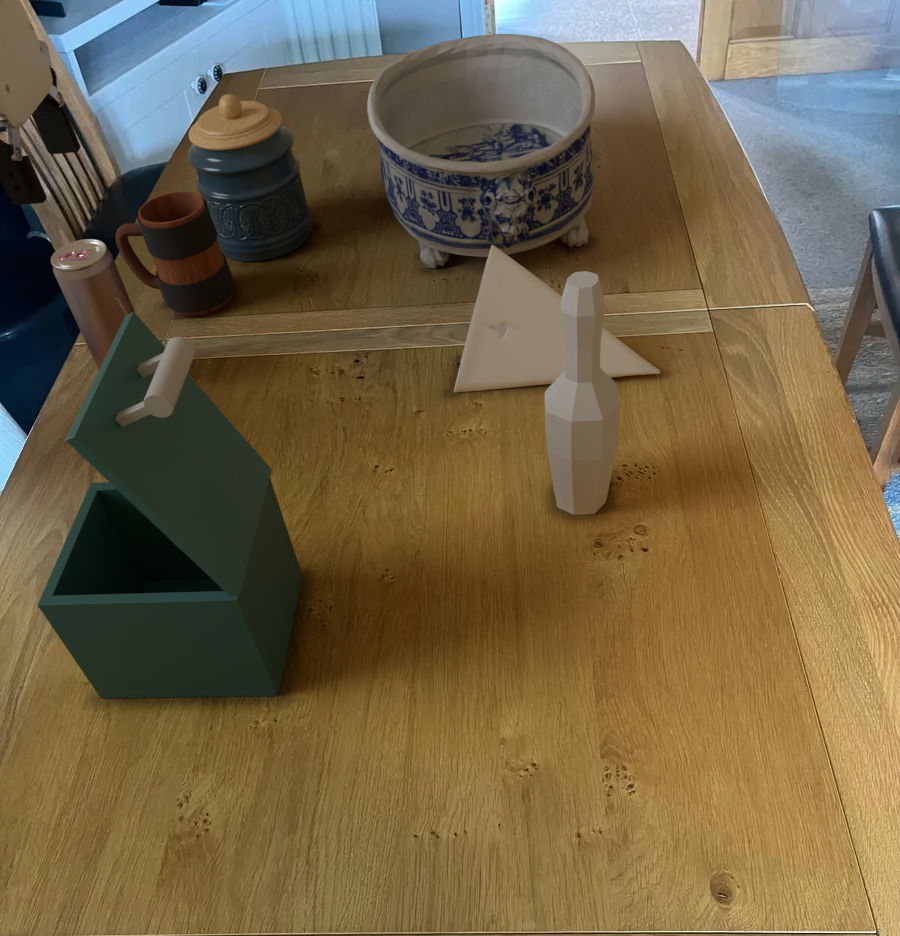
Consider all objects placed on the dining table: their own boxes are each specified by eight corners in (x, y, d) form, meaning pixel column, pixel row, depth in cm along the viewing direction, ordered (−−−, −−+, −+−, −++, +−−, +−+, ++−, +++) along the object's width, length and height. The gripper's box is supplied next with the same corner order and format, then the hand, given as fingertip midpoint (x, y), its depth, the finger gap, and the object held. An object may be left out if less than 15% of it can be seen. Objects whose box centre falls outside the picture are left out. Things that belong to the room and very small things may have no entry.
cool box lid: (64, 440, 55) (128, 411, 53) (124, 315, 63) (182, 286, 61) (231, 597, 65) (289, 577, 63) (264, 472, 73) (316, 451, 71)
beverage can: (113, 362, 107) (58, 240, 96) (163, 359, 106) (114, 235, 95) (99, 395, 103) (40, 271, 92) (151, 392, 103) (98, 266, 91)
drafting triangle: (679, 287, 96) (493, 235, 94) (688, 300, 90) (491, 245, 89) (629, 422, 103) (456, 376, 102) (635, 442, 98) (453, 393, 97)
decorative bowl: (634, 277, 108) (641, 145, 96) (407, 318, 107) (387, 189, 95) (550, 125, 135) (548, 8, 124) (369, 156, 134) (350, 42, 123)
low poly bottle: (606, 528, 82) (615, 308, 66) (537, 515, 84) (528, 298, 68) (623, 480, 86) (635, 261, 69) (556, 469, 88) (553, 252, 71)
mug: (148, 285, 117) (113, 194, 108) (242, 277, 116) (214, 185, 107) (133, 324, 112) (95, 232, 103) (231, 316, 111) (201, 222, 102)
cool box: (100, 698, 76) (36, 605, 67) (142, 580, 84) (90, 482, 75) (278, 696, 74) (237, 600, 65) (302, 575, 82) (269, 475, 73)
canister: (288, 268, 117) (251, 122, 103) (198, 259, 120) (151, 117, 107) (329, 215, 124) (300, 73, 111) (243, 209, 128) (205, 70, 114)
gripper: (-47, -65, 80) (41, 137, 93) (-139, 9, 69) (-24, 227, 82) (35, -75, 79) (113, 131, 92) (-45, -1, 68) (56, 220, 81)
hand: (48, 176), depth 87 cm, fingers open, 9 cm apart
